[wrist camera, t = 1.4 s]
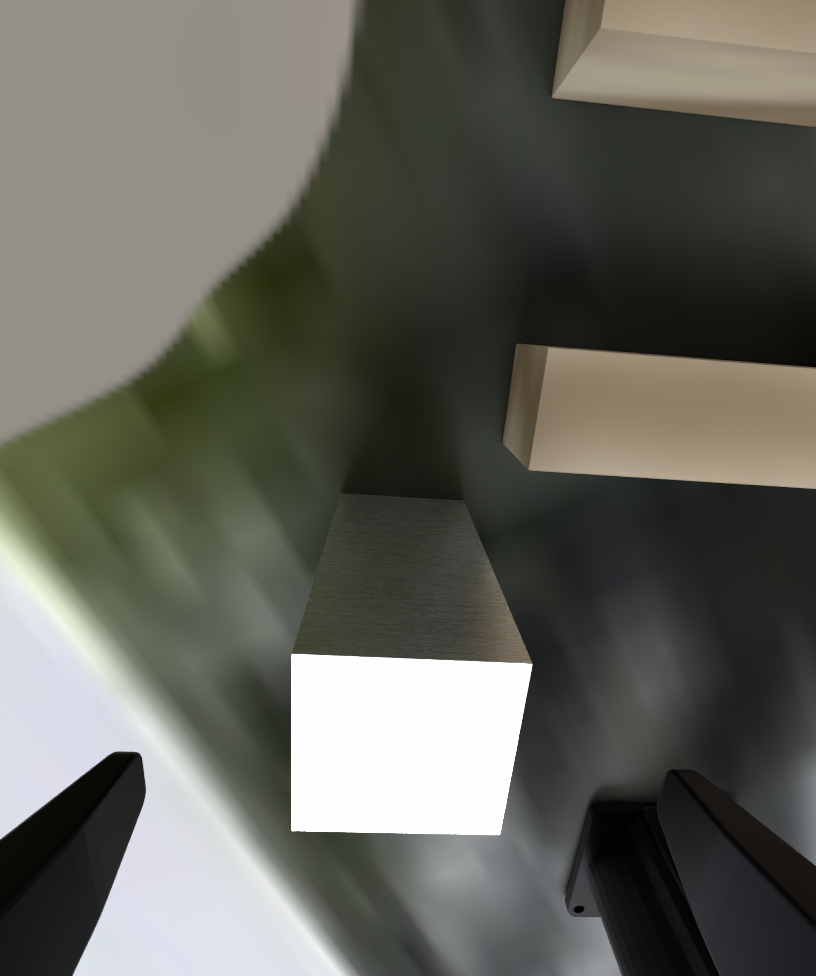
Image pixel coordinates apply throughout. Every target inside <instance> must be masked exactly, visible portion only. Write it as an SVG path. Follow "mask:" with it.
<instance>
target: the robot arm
mask: <svg viewBox="0 0 816 976" xmlns="http://www.w3.org/2000/svg"><path fill="white" fill-rule="evenodd" d="M145 794H146V786H145V778H144V770H143V762H142V757H141V755H140V754H139V753H137V752H114V753H112V754H110V755H108V756H107V757H106V758H104V759H103V760H102V761H100V762H99V763H98V764H97V765H95V766H94V767H93V768H91V769H90V770H89V771H88V772H86V773H85V774H84V775H82V776H81V777H80V778H79V779H77V780H76V781H75V782H73V783H72V784H71V785H70V786H68V787H67V788H66V789H64V790H63V791H62V792H61V793H59V794H58V795H57V796H55V797H54V798H53V799H52V800H50V801H49V802H48V803H46V804H45V805H44V806H43V807H41V808H40V809H39V810H37V811H36V812H35V813H34V814H32V815H31V816H30V817H28V818H27V819H26V820H25V821H23V822H22V823H21V824H19V825H18V826H17V827H16V828H14V829H13V830H12V831H11V832H9V833H8V834H7V835H5V836H4V837H3V838H2V839H0V976H73V973H74V971H75V969H76V967H77V965H78V963H79V961H80V959H81V957H82V955H83V953H84V950H85V948H86V946H87V944H88V942H89V940H90V938H91V936H92V934H93V931H94V929H95V927H96V925H97V923H98V920H99V918H100V916H101V914H102V911H103V909H104V906H105V904H106V901H107V899H108V896H109V893H110V891H111V888H112V885H113V883H114V880H115V878H116V875H117V872H118V870H119V867H120V864H121V862H122V859H123V856H124V854H125V851H126V849H127V846H128V843H129V841H130V838H131V835H132V833H133V830H134V827H135V825H136V822H137V820H138V817H139V814H140V812H141V809H142V806H143V803H144V799H145ZM565 903H566V907H567V910H568V913H569V914H570V915H572V916H574V917H601V919H602V922H603V925H604V927H605V930H606V933H607V936H608V939H609V941H610V944H611V947H612V950H613V953H614V955H615V958H616V961H617V964H618V967H619V969H620V972H621V975H622V976H816V866H815V865H814V864H812V863H811V862H810V861H809V860H807V859H806V858H805V857H804V856H802V855H801V854H800V853H799V852H797V851H796V850H795V849H794V848H792V847H791V846H790V845H789V844H787V843H786V842H785V841H783V840H782V839H781V838H780V837H778V836H777V835H776V834H775V833H773V832H772V831H771V830H770V829H768V828H767V827H766V826H765V825H763V824H762V823H761V822H759V821H758V820H757V819H756V818H754V817H753V816H752V815H751V814H749V813H748V812H747V811H746V810H744V809H743V808H742V807H741V806H739V805H738V804H737V803H736V802H734V801H733V800H732V799H730V798H729V797H728V796H727V795H725V794H724V793H723V792H722V791H720V790H719V789H718V788H717V787H715V786H714V785H713V784H712V783H710V782H709V781H708V780H707V779H705V778H704V777H703V776H701V775H700V774H699V773H697V772H696V771H694V770H691V769H670V770H669V771H668V772H667V773H666V776H665V779H664V782H663V785H662V788H661V792H660V795H659V798H658V801H657V803H642V802H597V803H595V804H593V805H592V806H591V807H590V809H589V811H588V815H587V818H586V822H585V826H584V830H583V833H582V837H581V841H580V845H579V848H578V852H577V856H576V860H575V864H574V867H573V871H572V875H571V879H570V882H569V886H568V890H567V894H566V897H565Z"/></svg>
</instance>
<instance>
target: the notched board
mask: <svg viewBox="0 0 816 976" xmlns="http://www.w3.org/2000/svg"><path fill="white" fill-rule="evenodd" d="M551 98H557V99H566V100H575V101H584V102H593V103H602V104H611V105H620V106H629V107H638V108H647V109H656V110H666V111H675V112H684V113H693V114H702V115H711V116H720V117H729V118H738V119H747V120H756V121H765V122H774V123H784V124H793V125H802V126H811V127H816V0H565V6H564V13H563V20H562V27H561V34H560V41H559V48H558V55H557V62H556V69H555V76H554V83H553V90H552V97H551ZM503 444H504V445H505V446H506V447H507V448H508V449H509V450H510V451H511V453H512V454H513V455H514V456H515V457H516V458H517V459H518V460H519V461H520V462H521V463H522V464H523V465H524V466H525V467H526V468H527V469H528V470H533V471H549V472H564V473H580V474H595V475H611V476H626V477H642V478H657V479H673V480H688V481H704V482H719V483H735V484H750V485H766V486H781V487H797V488H812V489H816V367H804V366H792V365H779V364H766V363H754V362H741V361H729V360H716V359H704V358H691V357H679V356H666V355H654V354H641V353H629V352H616V351H604V350H591V349H579V348H566V347H553V346H541V345H528V344H516V351H515V358H514V365H513V372H512V379H511V386H510V393H509V400H508V407H507V415H506V422H505V429H504V436H503Z"/></svg>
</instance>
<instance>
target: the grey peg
mask: <svg viewBox="0 0 816 976" xmlns="http://www.w3.org/2000/svg"><path fill="white" fill-rule="evenodd" d="M531 669H532V662H531V659H530V657H529V655H528V652H527V650H526V648H525V645H524V643H523V641H522V638H521V636H520V633H519V631H518V629H517V626H516V624H515V622H514V619H513V617H512V614H511V612H510V610H509V607H508V605H507V603H506V600H505V598H504V595H503V593H502V591H501V588H500V586H499V584H498V581H497V579H496V576H495V574H494V572H493V569H492V567H491V565H490V562H489V560H488V558H487V555H486V553H485V550H484V548H483V546H482V543H481V541H480V539H479V536H478V534H477V531H476V529H475V527H474V524H473V522H472V520H471V517H470V515H469V512H468V510H467V508H466V505H465V503H464V501H463V500H446V499H430V498H413V497H396V496H380V495H363V494H347V493H340V496H339V500H338V503H337V506H336V509H335V513H334V516H333V519H332V523H331V526H330V529H329V533H328V536H327V539H326V543H325V546H324V549H323V552H322V556H321V559H320V562H319V566H318V569H317V572H316V576H315V579H314V582H313V586H312V589H311V592H310V595H309V599H308V602H307V605H306V609H305V612H304V615H303V619H302V622H301V625H300V629H299V632H298V635H297V639H296V642H295V645H294V648H293V652H292V831H332V832H381V833H431V834H481V835H500V831H501V826H502V821H503V816H504V810H505V805H506V800H507V795H508V789H509V784H510V779H511V774H512V769H513V763H514V758H515V753H516V748H517V742H518V737H519V732H520V727H521V721H522V716H523V711H524V706H525V700H526V695H527V690H528V685H529V679H530V674H531Z"/></svg>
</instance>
